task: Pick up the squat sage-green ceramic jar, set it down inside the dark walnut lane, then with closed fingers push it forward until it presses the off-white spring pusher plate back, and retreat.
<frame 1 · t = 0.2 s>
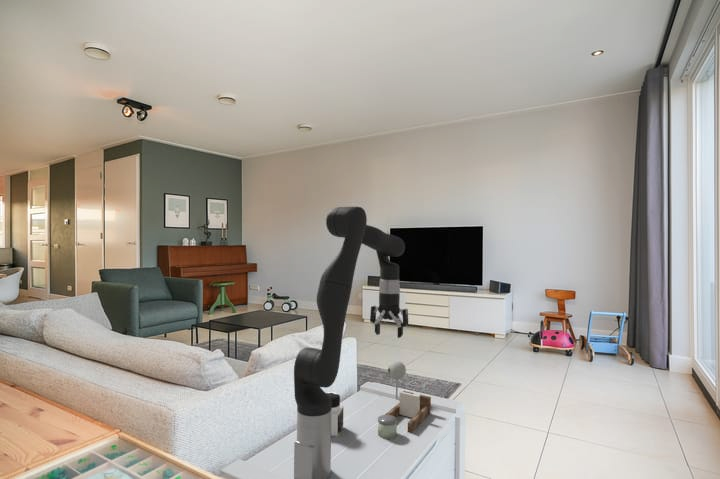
hand: (388, 335, 143), 28 cm above the table, tool pointing down, fingers open, 8 cm apart
pusher plate: (412, 402, 142), point 4 cm above the table, slide at 0.0 cm
lane: (406, 419, 138), on the table
lollipop: (396, 399, 156), on the table
jar: (387, 434, 127), on the table
medicine bottle: (330, 431, 129), on the table
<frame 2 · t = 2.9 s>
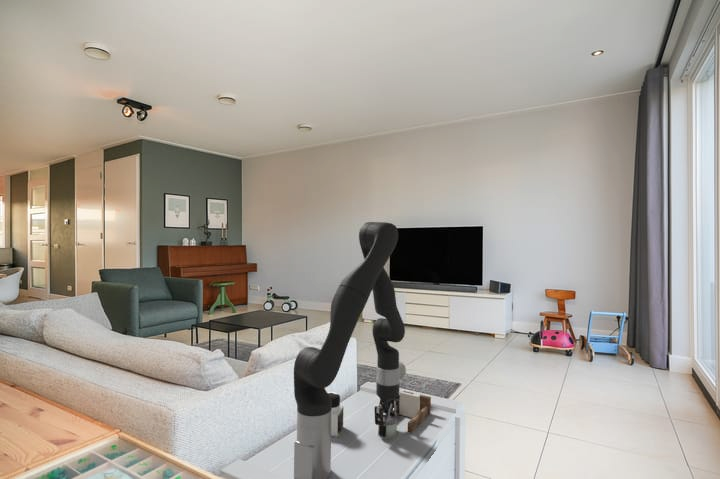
hand: (387, 431, 127), 1 cm above the table, tool pointing down, fingers closed on jar, 6 cm apart
jar: (387, 434, 127), on the table, touching gripper
everything else where it was.
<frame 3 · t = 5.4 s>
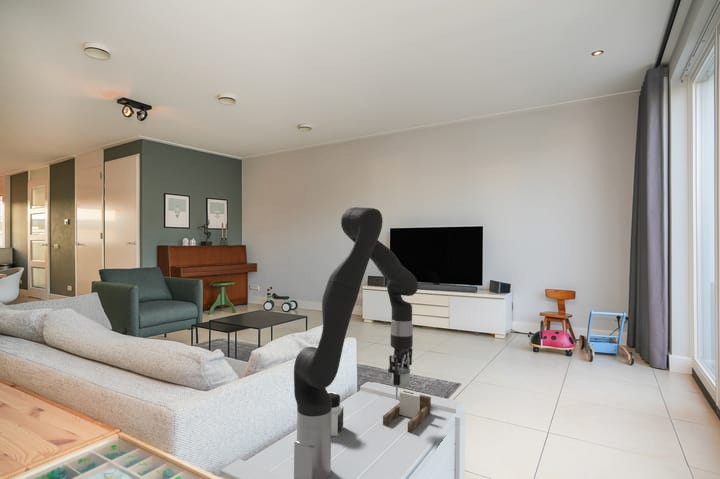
hand: (400, 381, 133), 15 cm above the table, tool pointing down, fingers closed on jar, 6 cm apart
jar: (400, 384, 133), point 14 cm above the table, touching gripper
everything else where it was.
when the fingers open (2 cm above the table, at t = 8.2 s): jar drops 1 cm, on the table.
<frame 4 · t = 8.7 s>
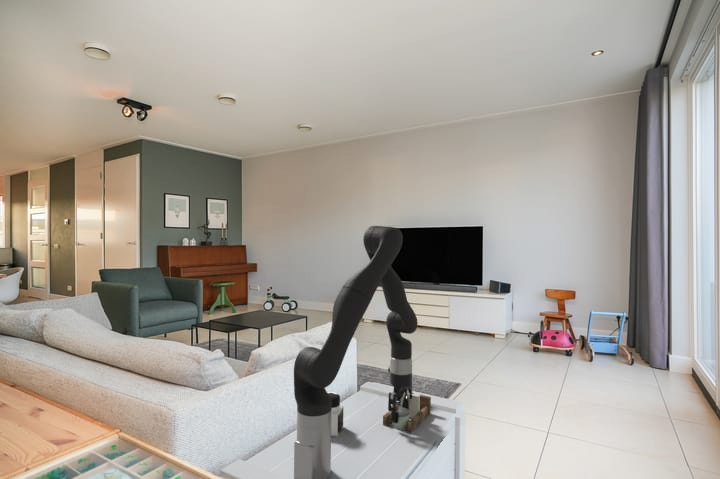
hand: (400, 417, 133), 3 cm above the table, tool pointing down, fingers open, 8 cm apart
pusher plate: (412, 402, 142), point 4 cm above the table, slide at 0.1 cm, touching hand
jar: (400, 425, 133), on the table
everything else where it was.
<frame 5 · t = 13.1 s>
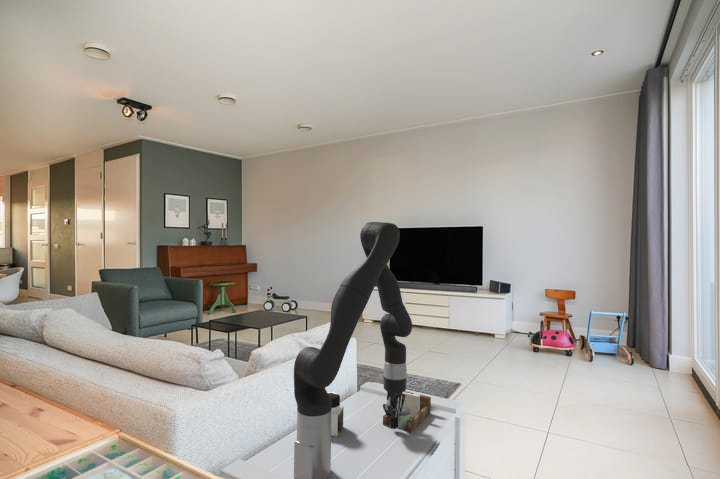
hand: (394, 427, 129), 1 cm above the table, tool pointing down, fingers closed
pusher plate: (412, 402, 142), point 4 cm above the table, slide at 0.1 cm
jar: (401, 424, 134), on the table, touching gripper
everything else where it was.
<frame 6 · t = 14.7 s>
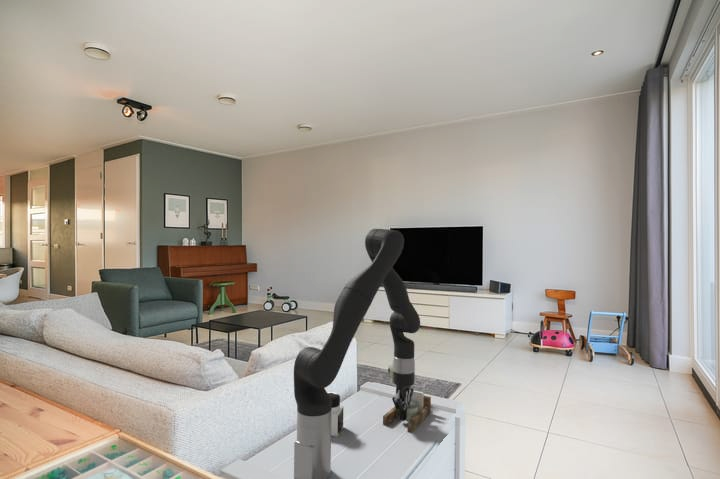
hand: (402, 419, 135), 1 cm above the table, tool pointing down, fingers closed
pusher plate: (416, 399, 145), point 4 cm above the table, slide at 3.6 cm, touching jar
jar: (409, 417, 140), on the table, touching gripper, pusher plate
everything else where it was.
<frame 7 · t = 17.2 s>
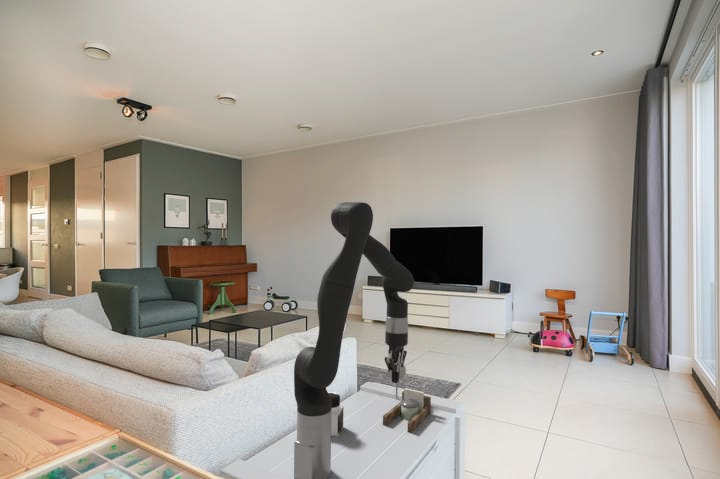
hand: (395, 382, 130), 16 cm above the table, tool pointing down, fingers closed
jar: (409, 416, 140), on the table, touching pusher plate
everything else where it was.
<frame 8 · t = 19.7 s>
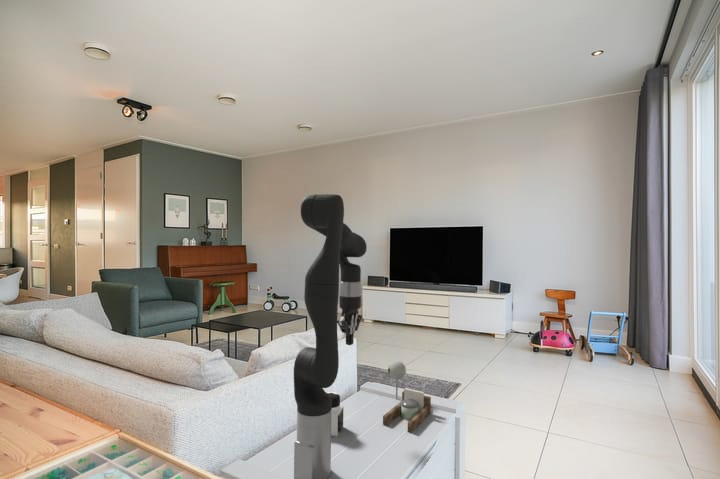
hand: (349, 344, 135), 27 cm above the table, tool pointing down, fingers closed
nothing on the table moved.
at the end: jar inside the target area (2.0 cm from its centre), on the table; jar tilted 0°; jar moved 15.9 cm from its start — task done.
